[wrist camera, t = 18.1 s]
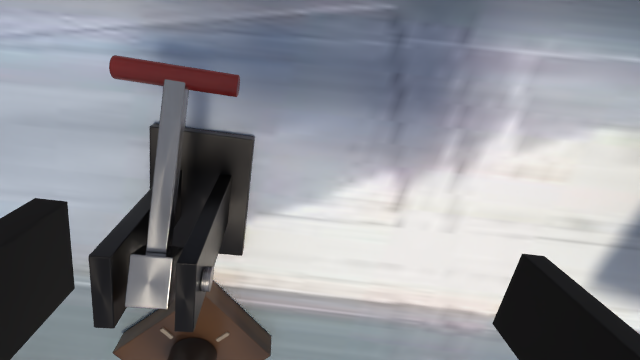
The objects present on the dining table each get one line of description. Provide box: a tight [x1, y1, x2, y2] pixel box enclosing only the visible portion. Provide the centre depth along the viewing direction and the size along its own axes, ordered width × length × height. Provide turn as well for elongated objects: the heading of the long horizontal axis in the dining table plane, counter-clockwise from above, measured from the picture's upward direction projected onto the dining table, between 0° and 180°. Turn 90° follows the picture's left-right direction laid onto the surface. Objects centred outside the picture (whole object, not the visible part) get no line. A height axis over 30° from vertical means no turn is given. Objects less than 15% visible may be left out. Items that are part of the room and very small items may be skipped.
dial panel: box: [113, 281, 271, 360], centre depth 35 cm, size 11×10×3 cm
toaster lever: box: [109, 55, 240, 309], centre depth 19 cm, size 13×6×2 cm, turn 171°
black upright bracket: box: [89, 123, 255, 332], centre depth 24 cm, size 11×8×14 cm
